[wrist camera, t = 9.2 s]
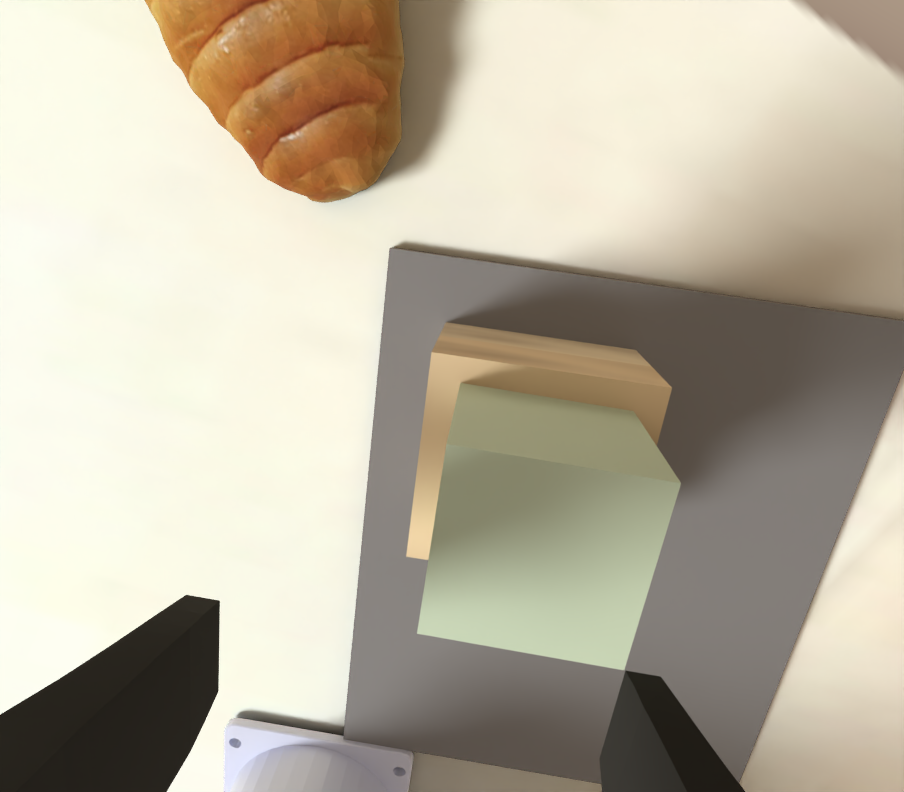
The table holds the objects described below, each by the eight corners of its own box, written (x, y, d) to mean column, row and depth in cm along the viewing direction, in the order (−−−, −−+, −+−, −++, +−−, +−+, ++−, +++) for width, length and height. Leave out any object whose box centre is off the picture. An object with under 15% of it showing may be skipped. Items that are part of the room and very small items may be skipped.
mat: (726, 796, 24) (729, 806, 23) (345, 730, 24) (343, 739, 24) (912, 321, 17) (921, 324, 17) (392, 247, 18) (389, 248, 18)
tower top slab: (605, 550, 18) (618, 590, 16) (416, 520, 18) (406, 556, 16) (652, 366, 16) (672, 387, 14) (439, 335, 16) (431, 351, 14)
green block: (594, 560, 16) (624, 669, 12) (436, 532, 16) (416, 633, 12) (633, 411, 14) (680, 483, 11) (460, 382, 15) (446, 444, 11)
